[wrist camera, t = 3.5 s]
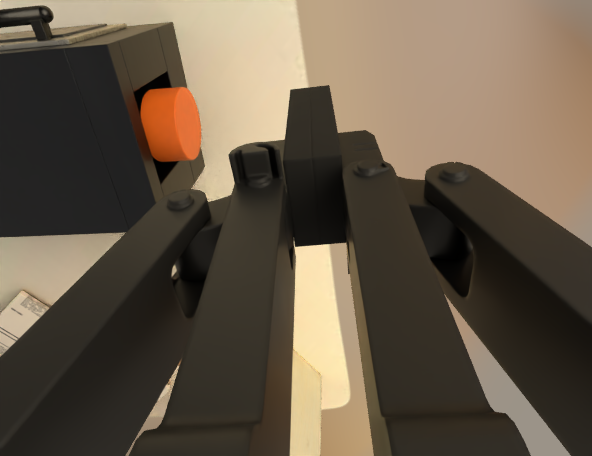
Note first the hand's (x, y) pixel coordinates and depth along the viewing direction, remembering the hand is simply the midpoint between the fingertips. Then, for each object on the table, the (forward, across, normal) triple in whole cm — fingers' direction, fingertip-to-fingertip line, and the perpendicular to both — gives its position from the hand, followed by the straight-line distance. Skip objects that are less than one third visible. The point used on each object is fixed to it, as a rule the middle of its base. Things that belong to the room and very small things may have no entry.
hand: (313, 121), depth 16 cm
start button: (+14, -10, -3) cm, 18 cm away
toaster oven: (+19, -19, -2) cm, 27 cm away
